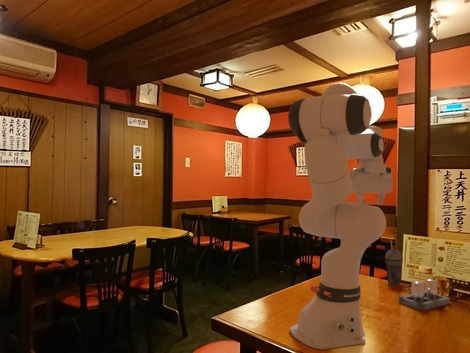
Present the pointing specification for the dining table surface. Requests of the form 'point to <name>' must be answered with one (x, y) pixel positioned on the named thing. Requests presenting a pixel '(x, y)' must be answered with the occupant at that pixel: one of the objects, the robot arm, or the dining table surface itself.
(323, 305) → the robot arm
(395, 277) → the beverage cup
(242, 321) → the dining table surface
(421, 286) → the billet
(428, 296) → the billet
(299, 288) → the dining table surface
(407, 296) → the grey divided tray
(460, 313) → the dining table surface
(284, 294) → the dining table surface
